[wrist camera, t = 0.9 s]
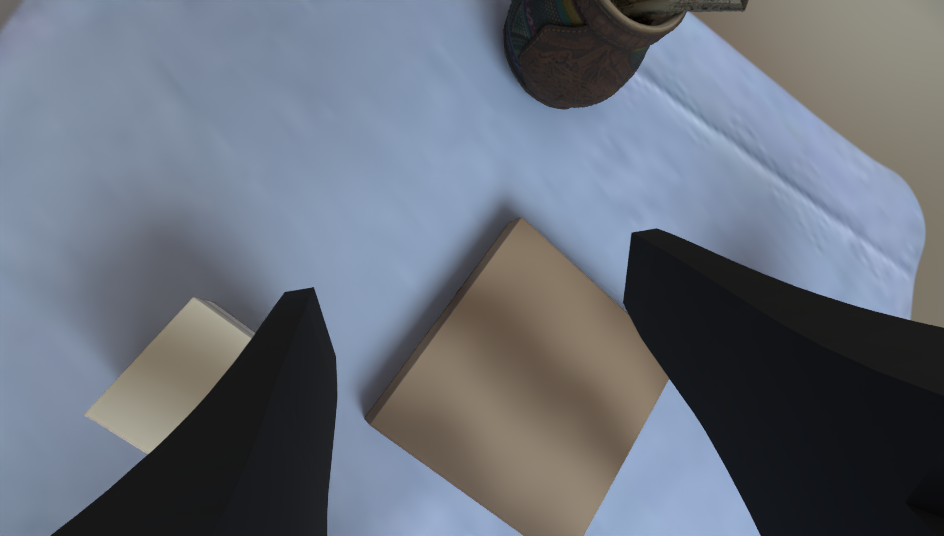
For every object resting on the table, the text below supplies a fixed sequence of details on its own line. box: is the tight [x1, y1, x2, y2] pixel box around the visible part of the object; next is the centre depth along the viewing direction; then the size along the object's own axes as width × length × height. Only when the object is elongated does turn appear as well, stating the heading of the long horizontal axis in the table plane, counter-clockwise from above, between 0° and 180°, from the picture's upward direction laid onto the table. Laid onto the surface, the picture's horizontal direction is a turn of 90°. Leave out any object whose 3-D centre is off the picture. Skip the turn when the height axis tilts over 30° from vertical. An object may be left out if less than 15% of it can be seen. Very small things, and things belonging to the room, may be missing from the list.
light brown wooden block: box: [364, 217, 669, 536], centre depth 25 cm, size 12×12×2 cm
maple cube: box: [84, 297, 255, 454], centre depth 19 cm, size 4×4×5 cm
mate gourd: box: [503, 0, 748, 109], centre depth 23 cm, size 7×8×10 cm
